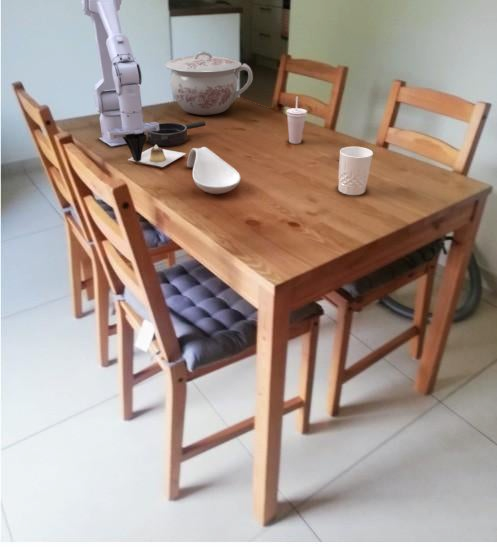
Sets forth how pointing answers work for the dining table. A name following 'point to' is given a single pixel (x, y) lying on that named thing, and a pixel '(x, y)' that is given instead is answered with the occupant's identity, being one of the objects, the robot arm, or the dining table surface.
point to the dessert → (158, 157)
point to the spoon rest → (212, 171)
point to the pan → (168, 134)
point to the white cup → (354, 170)
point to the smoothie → (296, 123)
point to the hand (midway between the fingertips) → (137, 160)
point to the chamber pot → (206, 82)
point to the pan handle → (195, 125)
